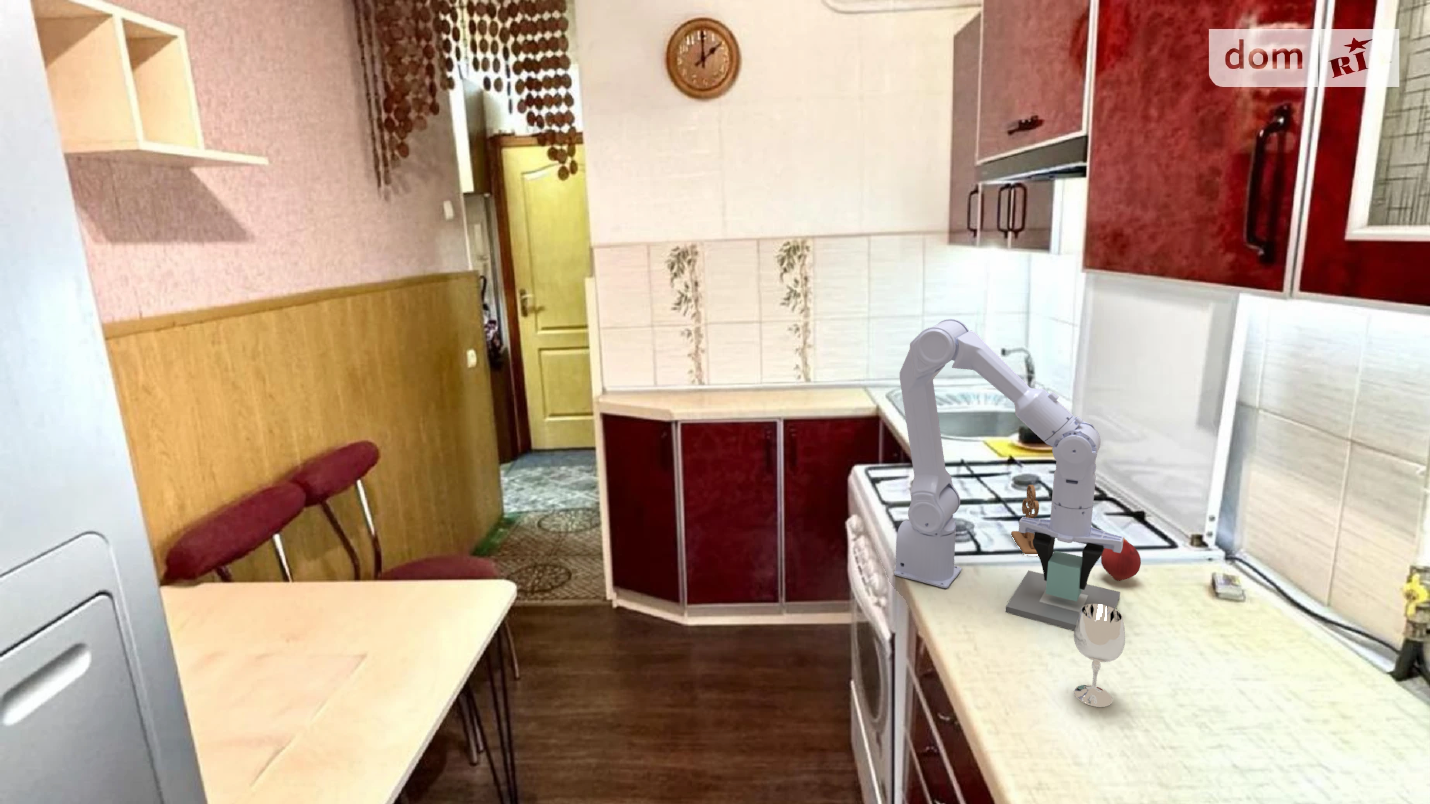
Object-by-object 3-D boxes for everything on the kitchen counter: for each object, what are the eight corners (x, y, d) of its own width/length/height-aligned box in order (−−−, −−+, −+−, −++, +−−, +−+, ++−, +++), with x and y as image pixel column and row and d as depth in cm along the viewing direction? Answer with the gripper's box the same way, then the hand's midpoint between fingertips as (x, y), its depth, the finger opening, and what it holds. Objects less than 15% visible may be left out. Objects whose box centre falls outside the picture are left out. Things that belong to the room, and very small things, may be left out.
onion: (1129, 572, 127) (1134, 529, 125) (1144, 589, 121) (1150, 544, 119) (1093, 572, 127) (1097, 529, 125) (1107, 588, 122) (1112, 544, 120)
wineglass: (1114, 686, 98) (1123, 604, 95) (1121, 714, 92) (1131, 628, 89) (1066, 679, 99) (1073, 599, 96) (1071, 706, 94) (1078, 621, 91)
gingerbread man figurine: (1010, 535, 143) (1014, 476, 140) (1031, 535, 142) (1035, 477, 139) (1023, 556, 134) (1027, 494, 131) (1045, 556, 134) (1050, 494, 131)
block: (1045, 593, 116) (1048, 561, 115) (1052, 581, 120) (1054, 550, 119) (1076, 601, 114) (1079, 568, 112) (1082, 589, 117) (1085, 557, 116)
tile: (1005, 612, 116) (1005, 605, 116) (1028, 575, 127) (1028, 569, 127) (1104, 638, 108) (1105, 632, 108) (1119, 597, 119) (1120, 591, 119)
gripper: (1015, 501, 114) (1010, 581, 118) (1121, 521, 106) (1112, 606, 109) (1027, 487, 120) (1022, 563, 123) (1128, 504, 111) (1119, 586, 115)
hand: (1065, 582), depth 117 cm, fingers closed on block, 4 cm apart
